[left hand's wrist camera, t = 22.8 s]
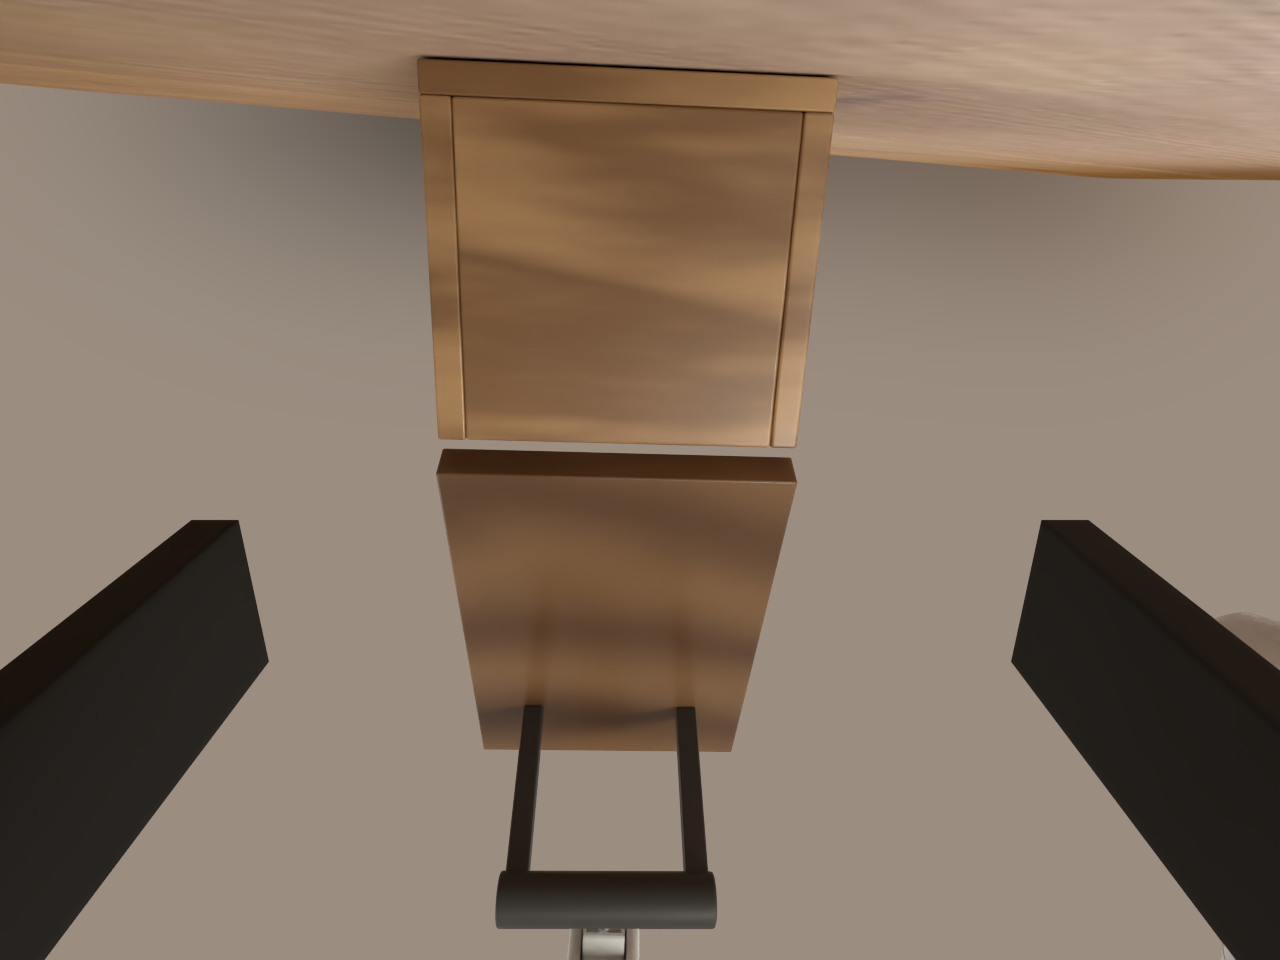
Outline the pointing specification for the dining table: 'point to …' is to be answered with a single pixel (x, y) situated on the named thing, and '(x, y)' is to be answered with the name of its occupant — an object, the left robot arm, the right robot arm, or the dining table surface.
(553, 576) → the lid
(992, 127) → the dining table surface
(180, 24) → the dining table surface
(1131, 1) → the dining table surface
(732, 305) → the chest
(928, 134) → the dining table surface
